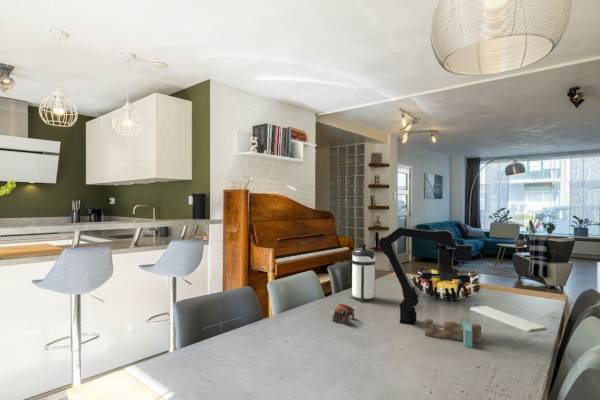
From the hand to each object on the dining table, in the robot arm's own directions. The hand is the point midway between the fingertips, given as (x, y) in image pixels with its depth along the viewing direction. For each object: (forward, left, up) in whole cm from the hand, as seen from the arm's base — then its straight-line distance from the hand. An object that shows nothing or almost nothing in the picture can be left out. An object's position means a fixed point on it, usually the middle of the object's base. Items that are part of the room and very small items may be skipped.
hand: (444, 296), depth 147 cm
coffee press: (-40, +32, -13) cm, 53 cm away
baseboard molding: (+26, +23, -14) cm, 37 cm away
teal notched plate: (+7, -11, -13) cm, 18 cm away
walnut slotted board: (+2, -11, -13) cm, 17 cm away
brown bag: (-42, -7, -13) cm, 44 cm away
